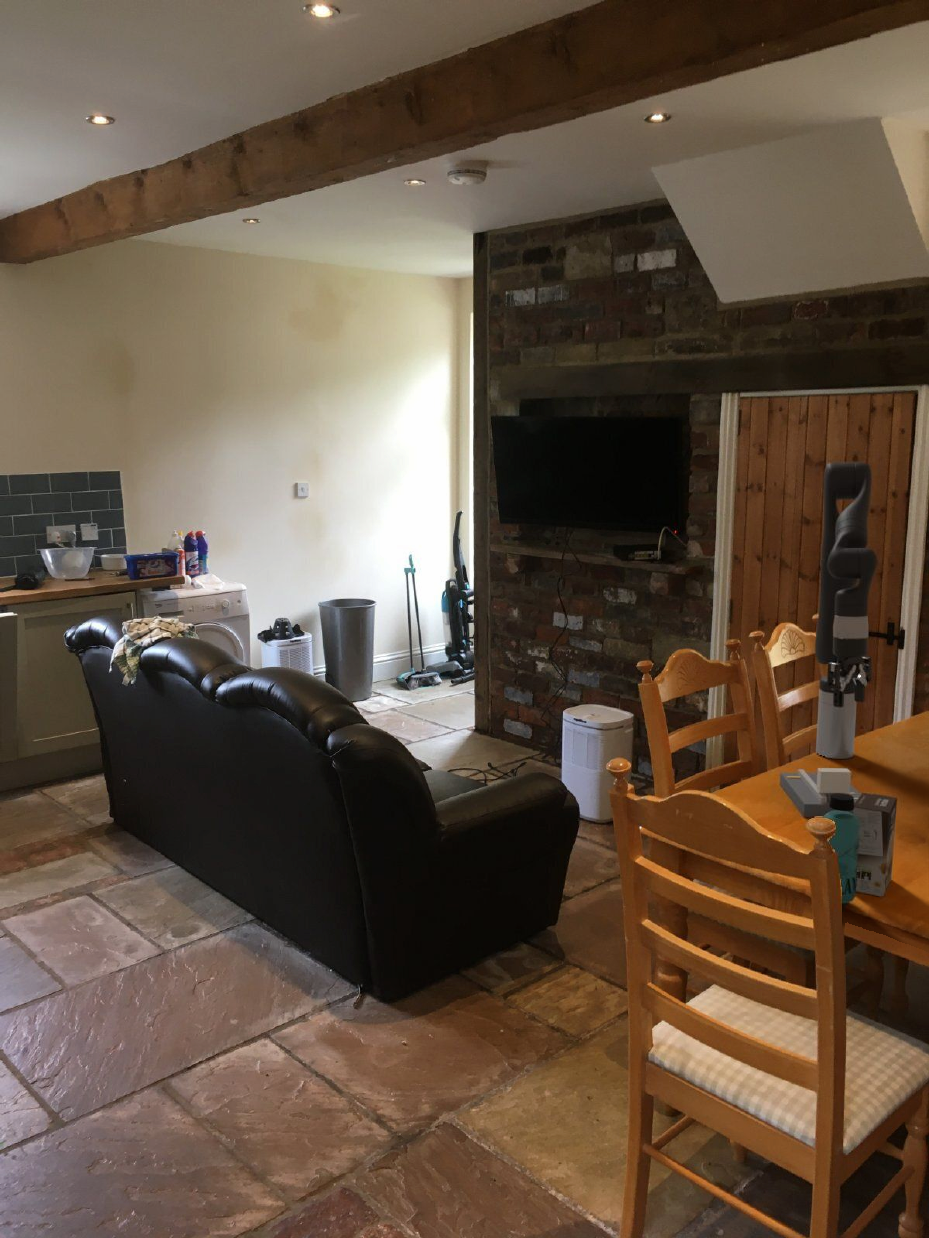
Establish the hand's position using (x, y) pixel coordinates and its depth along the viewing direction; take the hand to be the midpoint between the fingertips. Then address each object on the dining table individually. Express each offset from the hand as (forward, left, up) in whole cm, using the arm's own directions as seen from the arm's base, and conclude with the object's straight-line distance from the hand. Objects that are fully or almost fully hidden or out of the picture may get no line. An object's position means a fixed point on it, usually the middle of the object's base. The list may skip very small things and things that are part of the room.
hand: (849, 704), depth 231 cm
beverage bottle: (+60, -20, -21) cm, 67 cm away
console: (+8, -7, -21) cm, 23 cm away
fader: (+15, -7, -17) cm, 24 cm away
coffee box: (+52, -11, -21) cm, 57 cm away
